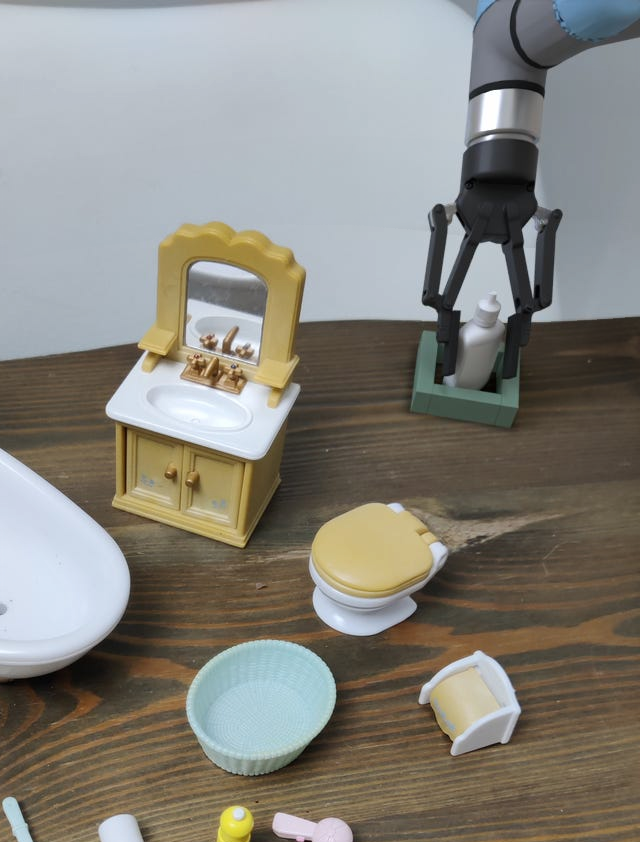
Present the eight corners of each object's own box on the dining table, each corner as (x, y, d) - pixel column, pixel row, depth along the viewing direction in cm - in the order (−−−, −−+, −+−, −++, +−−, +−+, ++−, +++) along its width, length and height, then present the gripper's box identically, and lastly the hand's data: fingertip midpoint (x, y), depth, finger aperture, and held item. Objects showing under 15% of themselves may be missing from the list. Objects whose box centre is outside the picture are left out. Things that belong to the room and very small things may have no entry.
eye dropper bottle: (493, 397, 110) (525, 305, 100) (443, 398, 110) (470, 306, 100) (484, 371, 112) (515, 279, 103) (436, 373, 112) (461, 281, 103)
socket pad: (511, 369, 114) (520, 344, 112) (508, 432, 108) (518, 407, 105) (416, 354, 116) (423, 329, 113) (408, 415, 110) (416, 391, 107)
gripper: (577, 163, 105) (553, 384, 109) (402, 155, 106) (384, 376, 109) (607, 138, 98) (580, 376, 102) (418, 131, 98) (398, 368, 102)
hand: (478, 376), depth 106 cm, fingers open, 6 cm apart
